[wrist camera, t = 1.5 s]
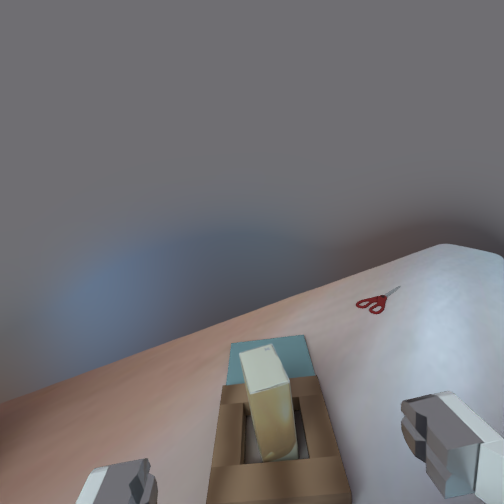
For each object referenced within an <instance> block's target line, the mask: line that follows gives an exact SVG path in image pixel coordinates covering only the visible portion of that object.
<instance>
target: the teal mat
mask: <svg viewBox="0 0 504 504" xmlns="http://www.w3.org/2000/svg"><path fill="white" fill-rule="evenodd" d="M268 344H273V346H274V348H275V351H276V353H277V355H278V357H279V359H280V361H281V363H282V365H283V367H284V369H285V371H286V374H287V376H288V378H297V377H306V376H315V373H314V370H313V366H312V363H311V359H310V356H309V352H308V349H307V345H306V342H305V338H304V335H298V336H289V337H281V338H272V339H264V340H256V341H247V342H239V343H231V351H230V359H229V367H228V374H227V382H226V385H234V384H243V383H245V381H244V376H243V371H242V367H241V362H240V357H239V353H240V352H244V351H247V350H250V349H254V348H257V347H261V346H264V345H268Z"/></svg>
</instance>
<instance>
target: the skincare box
mask: <svg viewBox="0 0 504 504" xmlns="http://www.w3.org/2000/svg"><path fill="white" fill-rule="evenodd" d="M239 357H240V362H241V367H242V371H243V376H244V381H245V386H246V391H247V396H248V401H249V406H250V411H251V416H252V421H253V426H254V430H255V435H256V439H257V444H258V448H259V451H260V455H261V459H262V462H263V463H265V462H276V461H287V460H298V459H299V453H298V445H297V437H296V428H295V420H294V411H293V403H292V395H291V386H290V380H289V378H288V376H287V374H286V371H285V369H284V367H283V365H282V363H281V361H280V359H279V357H278V355H277V353H276V351H275V348H274V346H273V344H268V345H264V346H261V347H257V348H254V349H250V350H247V351H244V352H240V353H239Z"/></svg>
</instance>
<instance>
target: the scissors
mask: <svg viewBox="0 0 504 504" xmlns="http://www.w3.org/2000/svg"><path fill="white" fill-rule="evenodd" d="M400 287H401V286H398V287H396V288H395V289H393V290H391V291H390V292H388V293H387V294H385V295H380V296H379V297H378V296H377V297H373V298H368V299H364V300H361V301H359V302H357V303H356V306H357V307H358V308H366V307H368V306H369V305H370V304H372V303H374V302H377V304H375V305H374V306H372V307H370V309H369V311H370V312H371V313H373V314H380V313H381V312H382V311H383V310H384V308H385V302H386V300H387V297H388V296H390V295H391V294H392V293H394V292H395V291H396V290H397V289H399V288H400ZM366 301H369V303H367V304H366V305H364V306H360V305H359V304H360V303H362V302H366ZM378 306H381V307H382V308H381V309H380V310H379V311H377V312H375V311H372V309H374V308H376V307H378Z"/></svg>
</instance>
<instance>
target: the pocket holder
mask: <svg viewBox="0 0 504 504" xmlns="http://www.w3.org/2000/svg"><path fill="white" fill-rule="evenodd" d="M289 380H290V386H291V395H292V403H293V411H297V410H300V412H301V417H302V422H303V428H304V433H305V439H306V444H307V450H308V455H309V459H298V460H287V461H276V462H265V463H254V464H244V458H245V429H246V416H248V415H251V411H250V406H249V401H248V396H247V391H246V386H245V383H243V384H234V385H224V386H223V388H222V395H221V402H220V409H219V416H218V423H217V430H216V437H215V444H214V451H213V458H212V465H211V472H210V479H209V486H208V493H207V500H206V504H352V499H351V490H350V487H349V483H348V480H347V476H346V473H345V469H344V466H343V463H342V459H341V456H340V452H339V449H338V446H337V442H336V439H335V435H334V432H333V429H332V425H331V422H330V418H329V415H328V412H327V408H326V405H325V401H324V398H323V394H322V391H321V388H320V384H319V381H318V377H317V375H315V376H306V377H297V378H289Z"/></svg>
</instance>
